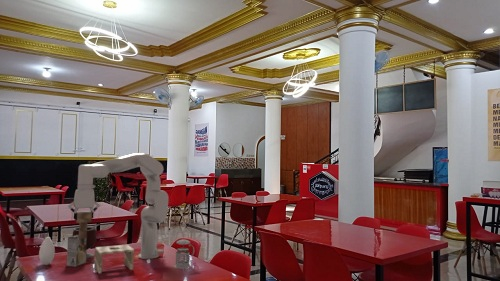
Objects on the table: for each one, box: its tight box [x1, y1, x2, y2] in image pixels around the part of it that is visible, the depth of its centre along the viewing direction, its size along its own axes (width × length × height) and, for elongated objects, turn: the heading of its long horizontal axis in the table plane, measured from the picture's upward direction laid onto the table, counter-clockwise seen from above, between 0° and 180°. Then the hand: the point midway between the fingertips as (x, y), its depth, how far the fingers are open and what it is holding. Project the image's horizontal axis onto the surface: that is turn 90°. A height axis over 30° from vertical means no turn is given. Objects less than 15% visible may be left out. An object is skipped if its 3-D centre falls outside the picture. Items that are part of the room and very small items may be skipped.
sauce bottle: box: [38, 233, 56, 266], centre depth 218 cm, size 8×8×18 cm
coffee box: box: [66, 235, 87, 267], centre depth 220 cm, size 9×6×16 cm
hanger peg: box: [75, 210, 93, 239], centre depth 207 cm, size 7×7×14 cm
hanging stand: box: [93, 244, 135, 274], centre depth 213 cm, size 18×14×11 cm
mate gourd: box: [71, 223, 100, 259], centre depth 239 cm, size 16×14×20 cm
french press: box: [173, 222, 195, 269], centre depth 223 cm, size 10×12×25 cm
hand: (83, 219), depth 207 cm, fingers closed on hanger peg, 7 cm apart
